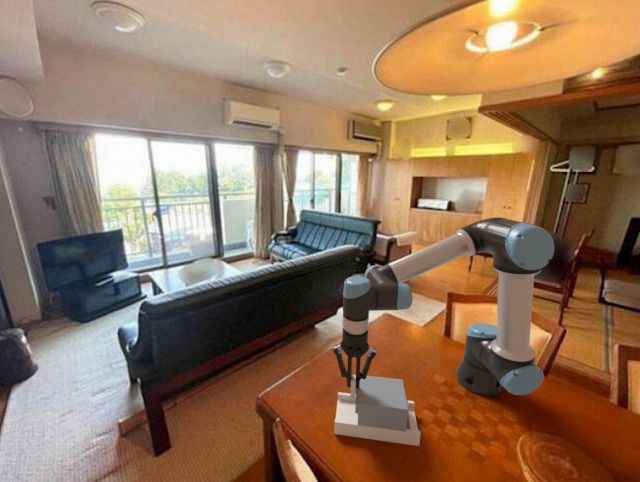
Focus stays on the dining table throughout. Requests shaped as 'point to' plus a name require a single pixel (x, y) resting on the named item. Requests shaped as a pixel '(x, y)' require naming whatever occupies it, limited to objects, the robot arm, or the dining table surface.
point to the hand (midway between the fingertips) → (352, 395)
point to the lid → (381, 403)
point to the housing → (349, 427)
